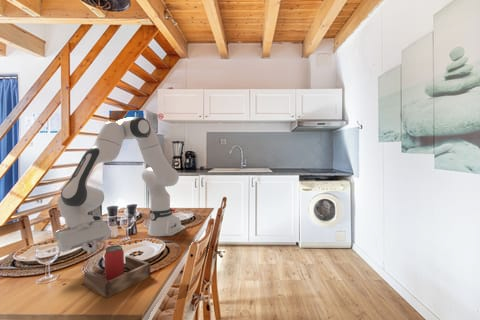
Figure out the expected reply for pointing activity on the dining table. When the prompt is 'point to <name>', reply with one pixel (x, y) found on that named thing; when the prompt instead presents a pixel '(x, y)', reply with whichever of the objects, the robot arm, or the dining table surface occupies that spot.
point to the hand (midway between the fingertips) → (93, 252)
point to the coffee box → (96, 211)
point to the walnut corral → (119, 278)
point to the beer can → (114, 262)
